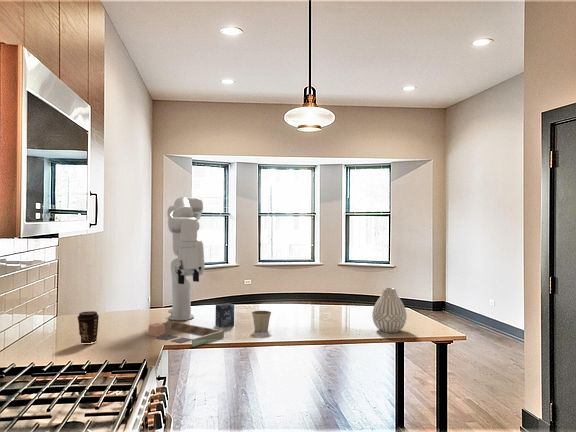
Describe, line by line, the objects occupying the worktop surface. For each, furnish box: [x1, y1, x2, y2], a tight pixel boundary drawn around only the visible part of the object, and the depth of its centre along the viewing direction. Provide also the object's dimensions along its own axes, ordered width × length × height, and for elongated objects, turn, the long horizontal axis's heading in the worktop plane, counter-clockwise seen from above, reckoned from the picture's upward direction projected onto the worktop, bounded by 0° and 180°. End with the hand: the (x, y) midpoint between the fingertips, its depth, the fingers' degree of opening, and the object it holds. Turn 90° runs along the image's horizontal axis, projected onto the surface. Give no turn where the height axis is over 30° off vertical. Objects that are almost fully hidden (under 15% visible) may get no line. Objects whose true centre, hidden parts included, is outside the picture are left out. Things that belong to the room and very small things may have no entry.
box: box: [214, 302, 235, 328], centre depth 248 cm, size 8×6×11 cm
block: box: [148, 322, 166, 337], centre depth 230 cm, size 5×5×4 cm
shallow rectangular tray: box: [169, 321, 225, 348], centre depth 226 cm, size 33×19×3 cm, turn 56°
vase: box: [371, 287, 408, 334], centre depth 238 cm, size 16×16×20 cm
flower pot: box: [251, 310, 272, 333], centre depth 238 cm, size 9×9×9 cm
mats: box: [157, 334, 193, 344], centre depth 222 cm, size 15×7×1 cm, turn 56°
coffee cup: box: [77, 310, 100, 343], centre depth 214 cm, size 9×8×13 cm
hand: (188, 282), depth 229 cm, fingers open, 9 cm apart
